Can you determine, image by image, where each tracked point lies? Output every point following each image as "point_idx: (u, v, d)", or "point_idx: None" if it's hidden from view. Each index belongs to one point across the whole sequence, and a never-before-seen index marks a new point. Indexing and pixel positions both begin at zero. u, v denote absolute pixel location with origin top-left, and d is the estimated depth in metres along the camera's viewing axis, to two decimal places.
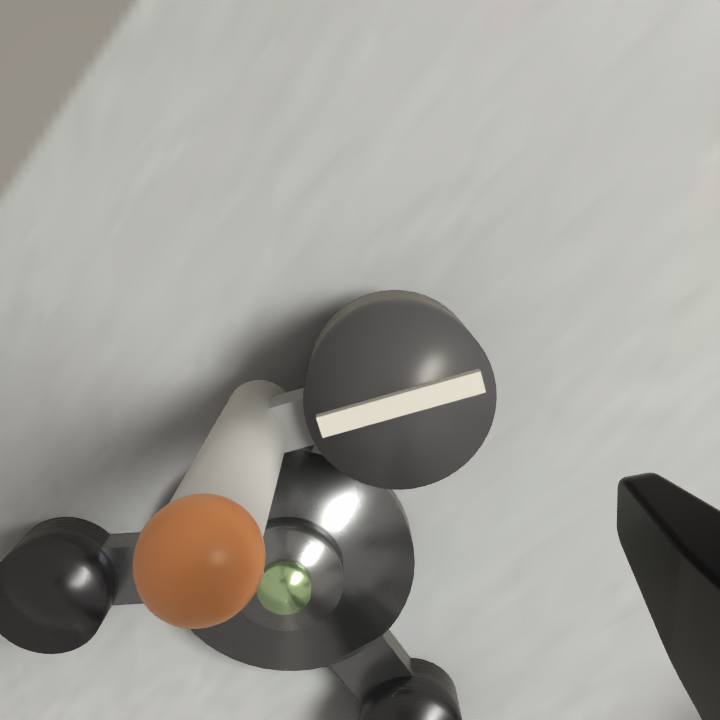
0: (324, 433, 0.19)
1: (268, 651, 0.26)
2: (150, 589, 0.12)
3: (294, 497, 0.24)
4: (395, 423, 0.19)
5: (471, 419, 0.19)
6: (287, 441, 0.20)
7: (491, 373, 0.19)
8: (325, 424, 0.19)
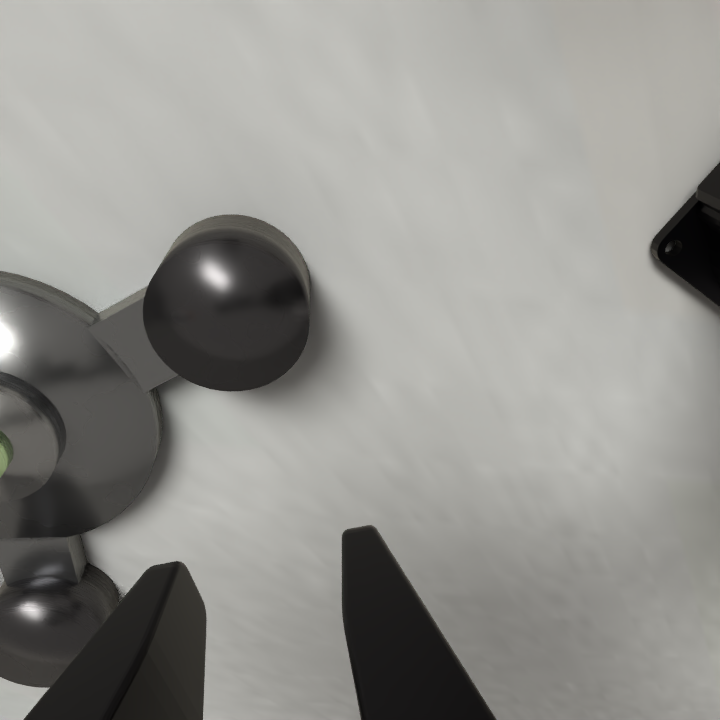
0: None
1: (127, 455, 0.20)
2: None
3: None
4: None
5: None
6: None
7: None
8: None
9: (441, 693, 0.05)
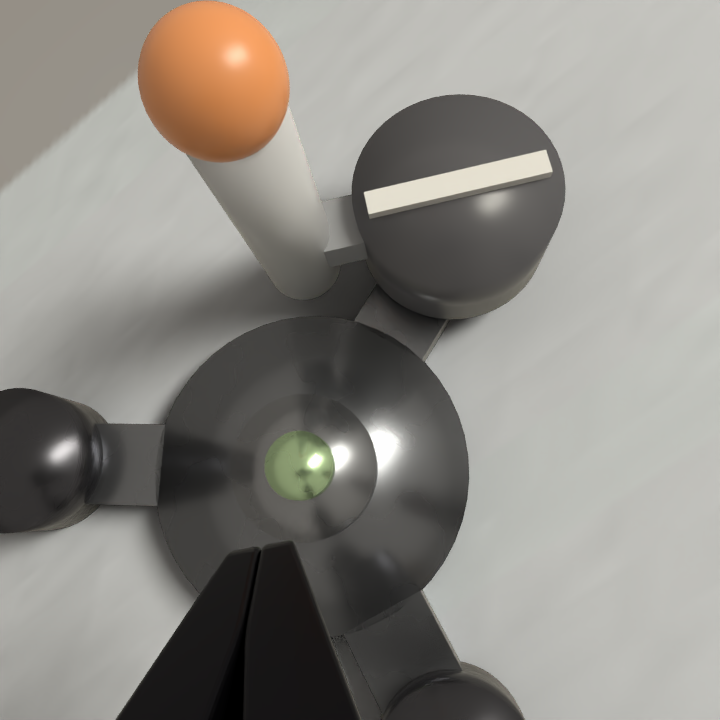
0: (371, 210, 0.17)
1: None
2: (154, 37, 0.11)
3: (328, 375, 0.20)
4: (450, 210, 0.17)
5: (537, 209, 0.17)
6: (329, 238, 0.18)
7: (558, 160, 0.17)
8: (373, 199, 0.17)
9: (321, 714, 0.05)
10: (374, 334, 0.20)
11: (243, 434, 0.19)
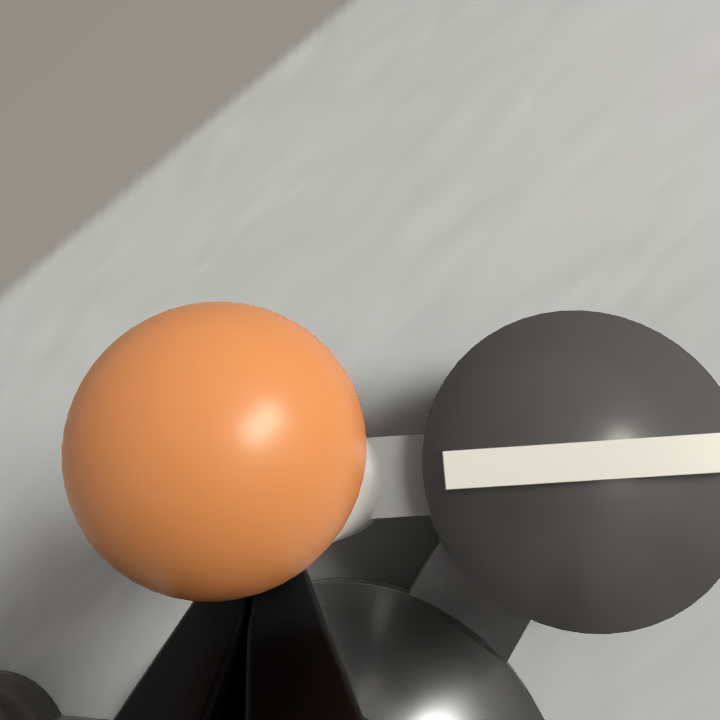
0: (450, 482, 0.11)
1: None
2: (96, 402, 0.05)
3: (371, 677, 0.14)
4: (570, 499, 0.11)
5: (704, 522, 0.11)
6: (381, 499, 0.12)
7: None
8: (456, 466, 0.12)
9: (323, 713, 0.05)
10: (437, 617, 0.14)
11: None
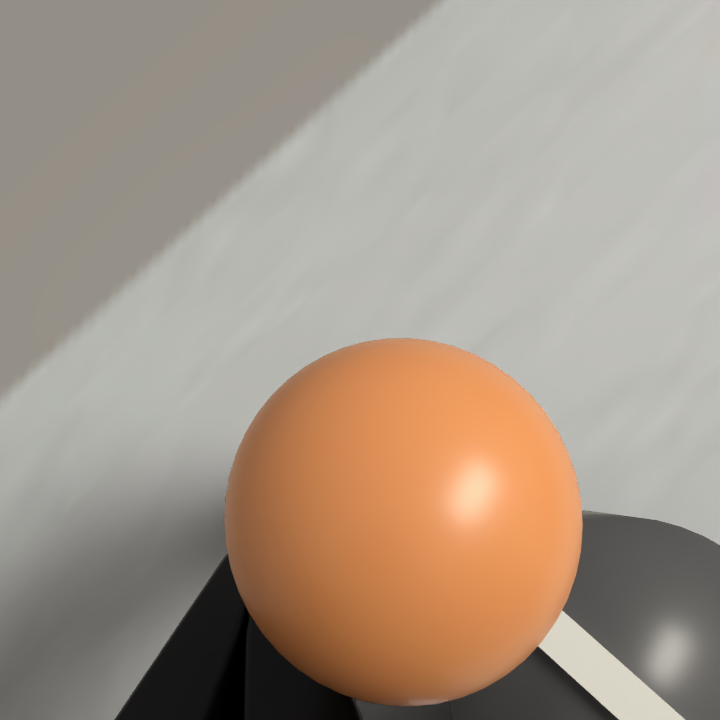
0: None
1: None
2: (349, 413, 0.04)
3: None
4: None
5: None
6: None
7: None
8: None
9: (322, 713, 0.05)
10: None
11: None
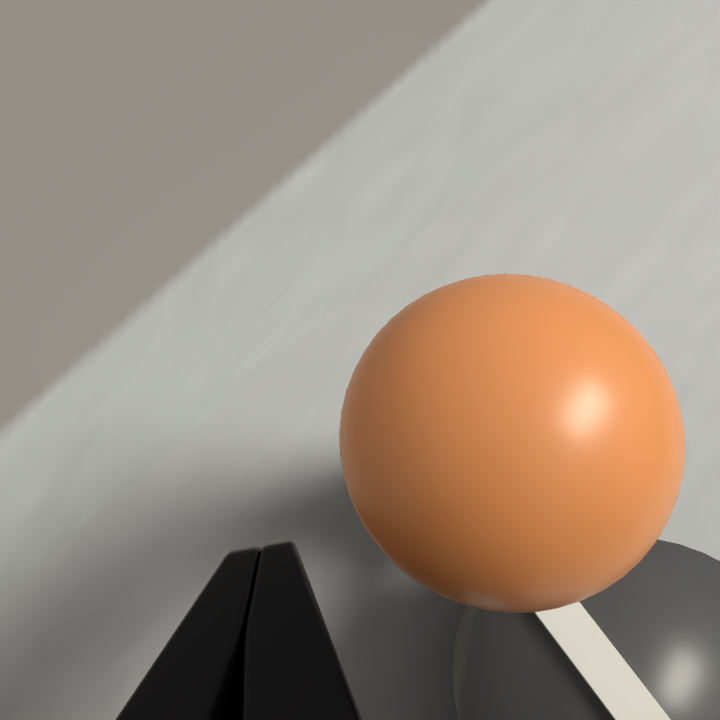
0: None
1: None
2: (493, 319, 0.04)
3: None
4: None
5: None
6: None
7: None
8: None
9: (321, 714, 0.05)
10: None
11: None
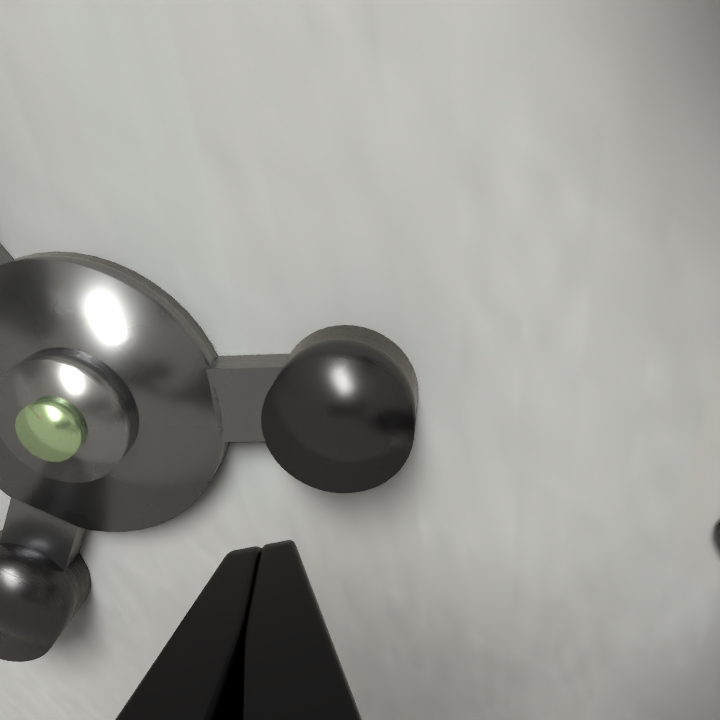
0: None
1: (175, 485, 0.21)
2: None
3: None
4: None
5: None
6: None
7: None
8: None
9: (321, 714, 0.05)
10: None
11: (19, 455, 0.20)
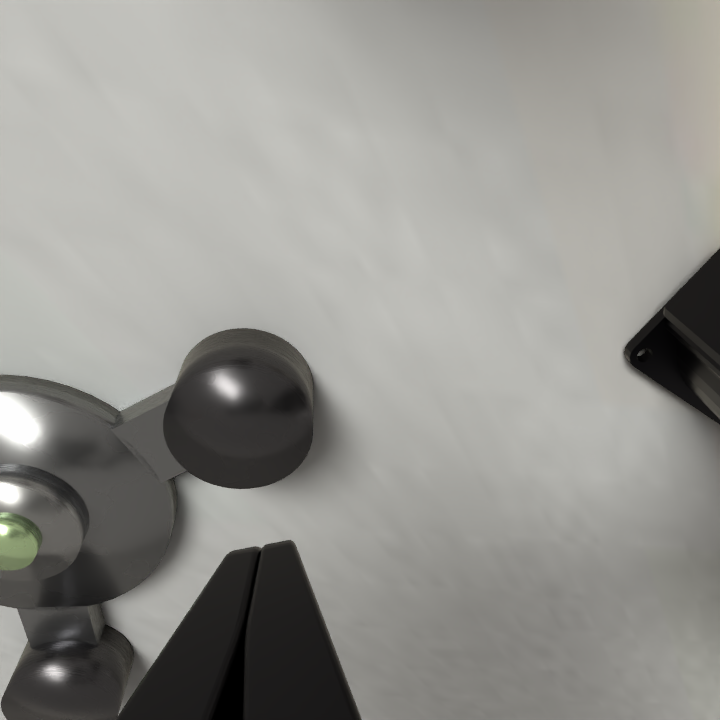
0: None
1: (145, 536, 0.22)
2: None
3: None
4: None
5: None
6: None
7: None
8: None
9: (321, 714, 0.05)
10: None
11: None
